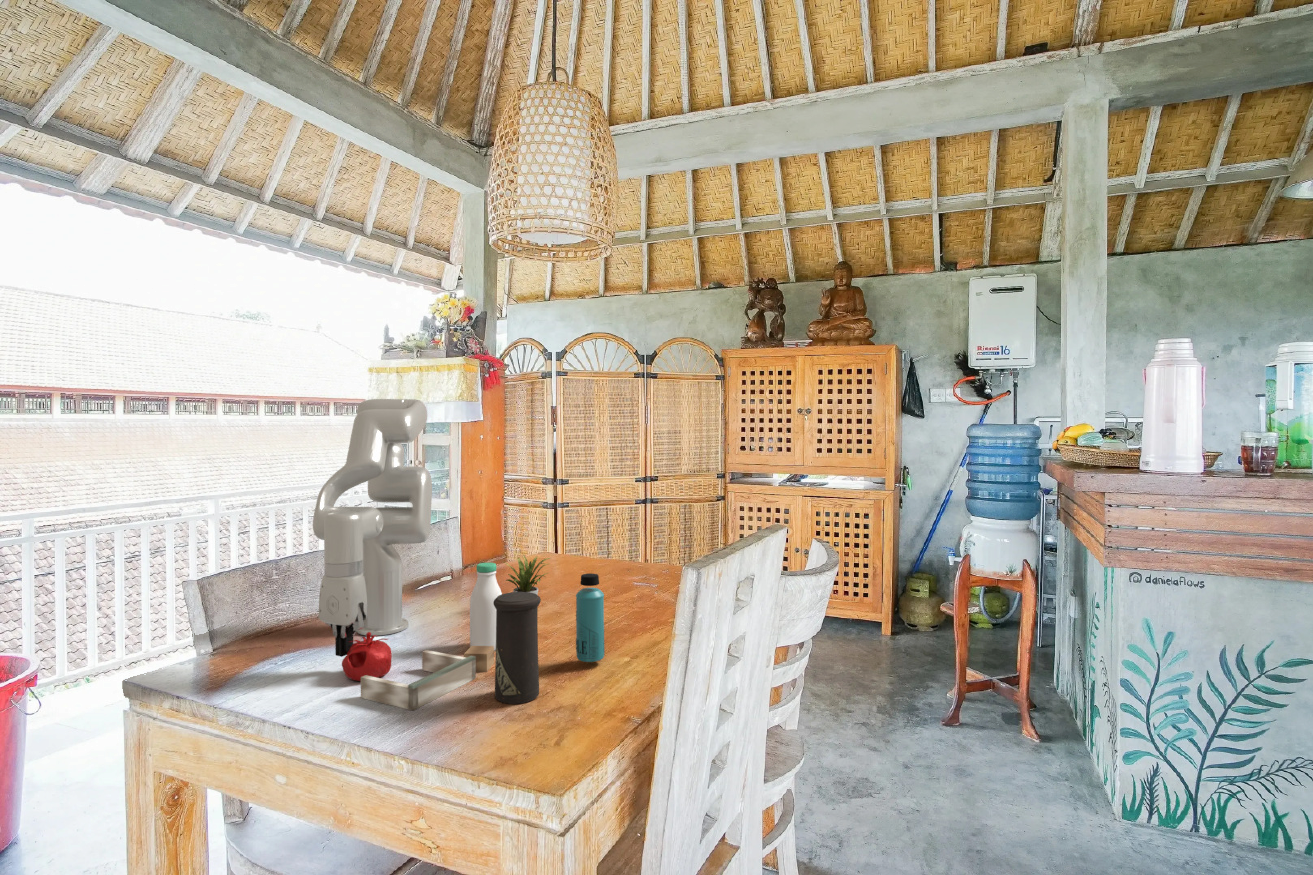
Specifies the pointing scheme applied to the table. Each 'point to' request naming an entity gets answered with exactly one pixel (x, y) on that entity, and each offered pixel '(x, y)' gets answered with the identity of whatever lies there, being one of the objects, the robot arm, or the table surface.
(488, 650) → the teak block
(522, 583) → the house plant
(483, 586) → the milk bottle
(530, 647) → the container
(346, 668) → the pomegranate
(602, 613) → the beverage bottle
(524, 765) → the table surface
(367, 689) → the display stand
